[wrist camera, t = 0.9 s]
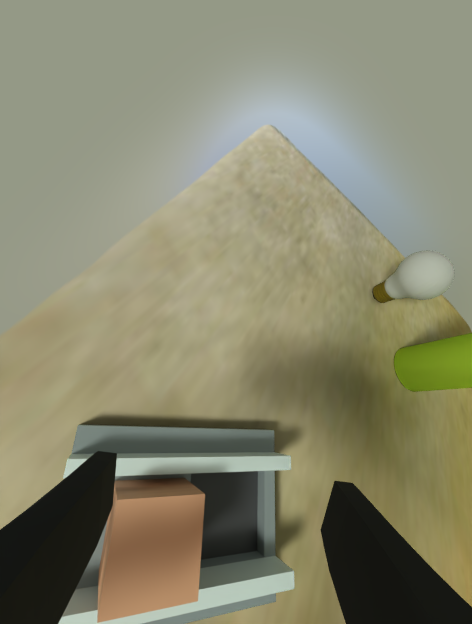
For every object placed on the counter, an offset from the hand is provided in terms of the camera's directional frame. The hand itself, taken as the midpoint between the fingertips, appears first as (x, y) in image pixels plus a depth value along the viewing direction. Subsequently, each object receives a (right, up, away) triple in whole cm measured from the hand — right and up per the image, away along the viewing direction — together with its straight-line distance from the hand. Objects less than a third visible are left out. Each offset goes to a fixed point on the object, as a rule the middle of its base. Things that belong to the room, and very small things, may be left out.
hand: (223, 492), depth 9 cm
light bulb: (+20, +8, +31) cm, 38 cm away
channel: (-4, -10, +13) cm, 16 cm away
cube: (-6, -9, +10) cm, 15 cm away
